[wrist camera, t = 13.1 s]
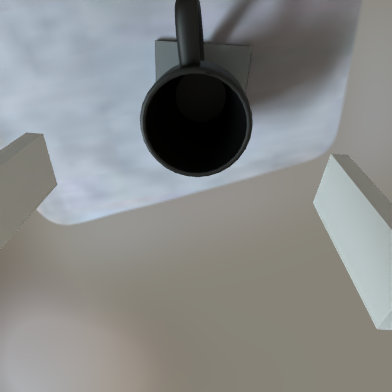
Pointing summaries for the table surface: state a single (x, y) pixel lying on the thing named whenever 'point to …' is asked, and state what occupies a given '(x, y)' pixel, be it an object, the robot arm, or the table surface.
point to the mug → (195, 107)
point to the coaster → (207, 58)
